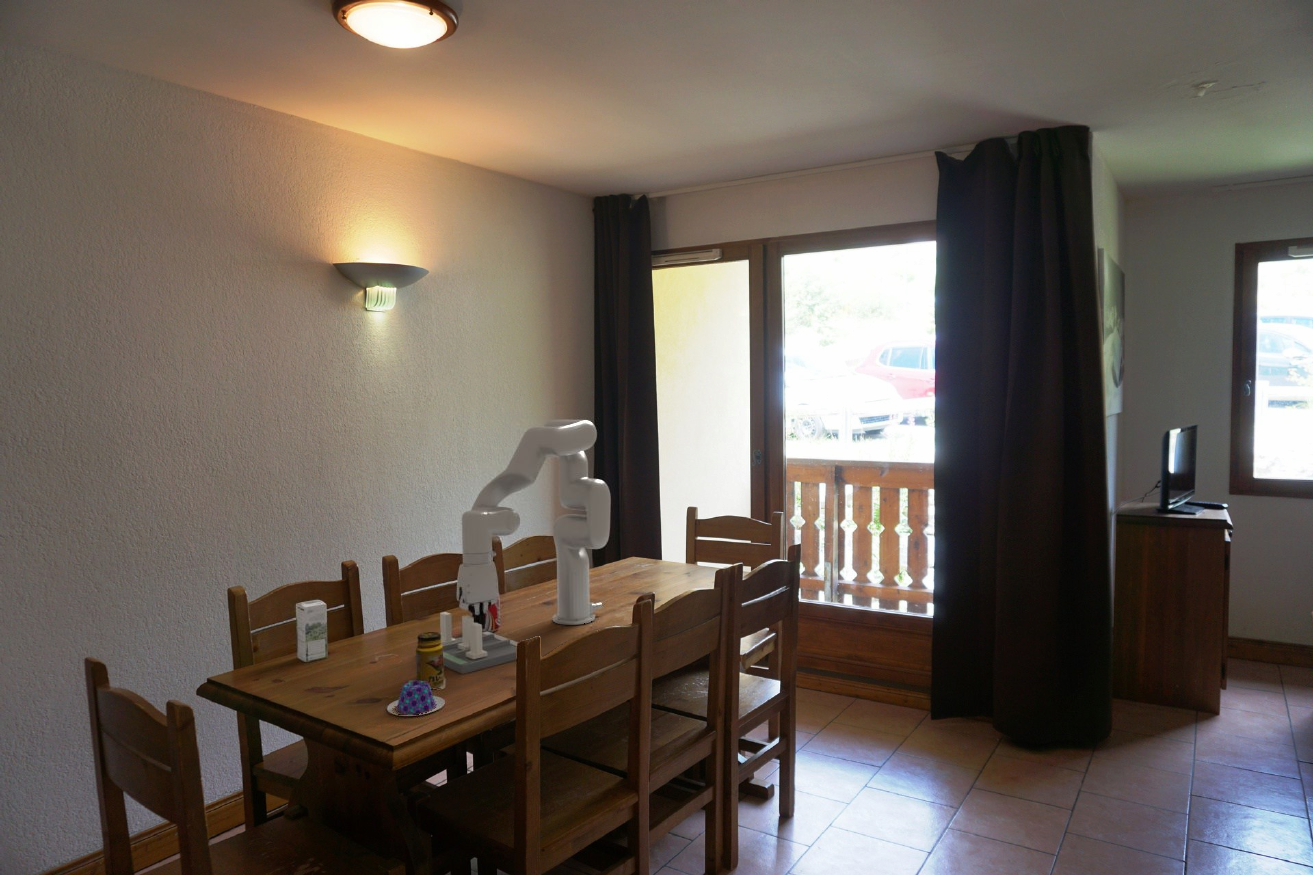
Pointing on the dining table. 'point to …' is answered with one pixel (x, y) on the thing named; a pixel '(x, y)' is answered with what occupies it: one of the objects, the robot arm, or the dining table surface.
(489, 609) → the soda can
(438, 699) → the pudding
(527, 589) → the dining table surface
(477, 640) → the post
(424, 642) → the condiment
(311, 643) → the syrup box
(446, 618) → the post
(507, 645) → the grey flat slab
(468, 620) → the post
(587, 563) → the robot arm
